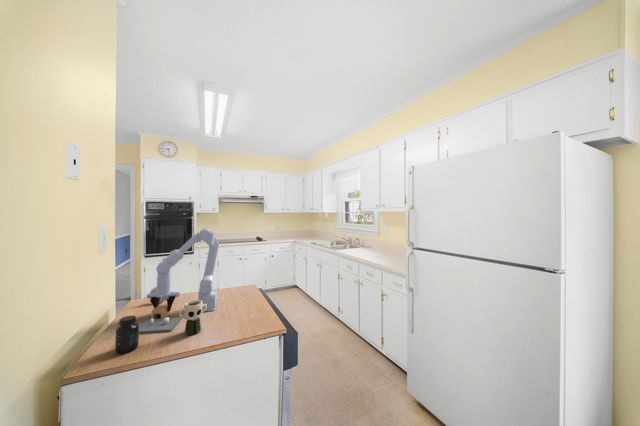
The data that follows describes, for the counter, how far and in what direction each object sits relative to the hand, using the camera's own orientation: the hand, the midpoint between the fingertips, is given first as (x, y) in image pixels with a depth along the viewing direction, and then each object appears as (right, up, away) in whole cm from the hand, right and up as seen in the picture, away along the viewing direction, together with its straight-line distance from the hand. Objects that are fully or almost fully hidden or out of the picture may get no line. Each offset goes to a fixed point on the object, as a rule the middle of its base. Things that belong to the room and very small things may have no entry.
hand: (163, 311), depth 118 cm
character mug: (+25, -2, -17) cm, 30 cm away
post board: (+6, -2, -12) cm, 14 cm away
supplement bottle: (+7, -2, -30) cm, 31 cm away
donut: (-12, -2, +15) cm, 19 cm away
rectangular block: (0, -2, 0) cm, 2 cm away
